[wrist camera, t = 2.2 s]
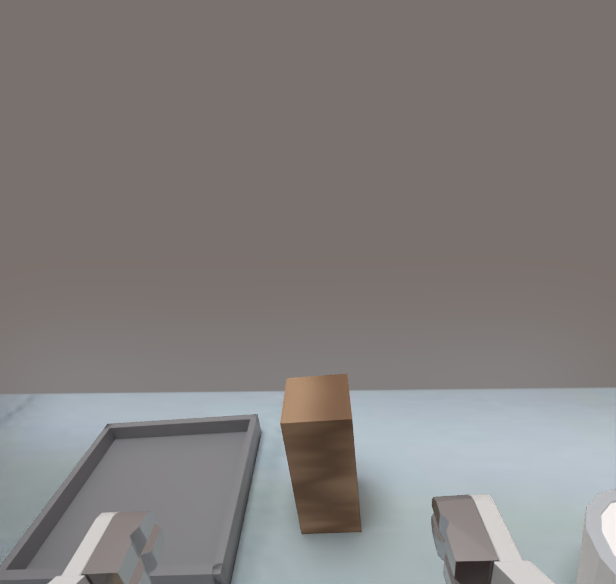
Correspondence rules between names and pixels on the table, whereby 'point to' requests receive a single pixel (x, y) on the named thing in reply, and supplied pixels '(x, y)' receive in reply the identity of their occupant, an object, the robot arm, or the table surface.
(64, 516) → the charcoal tray
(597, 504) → the white cup
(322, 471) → the walnut block
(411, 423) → the table surface
